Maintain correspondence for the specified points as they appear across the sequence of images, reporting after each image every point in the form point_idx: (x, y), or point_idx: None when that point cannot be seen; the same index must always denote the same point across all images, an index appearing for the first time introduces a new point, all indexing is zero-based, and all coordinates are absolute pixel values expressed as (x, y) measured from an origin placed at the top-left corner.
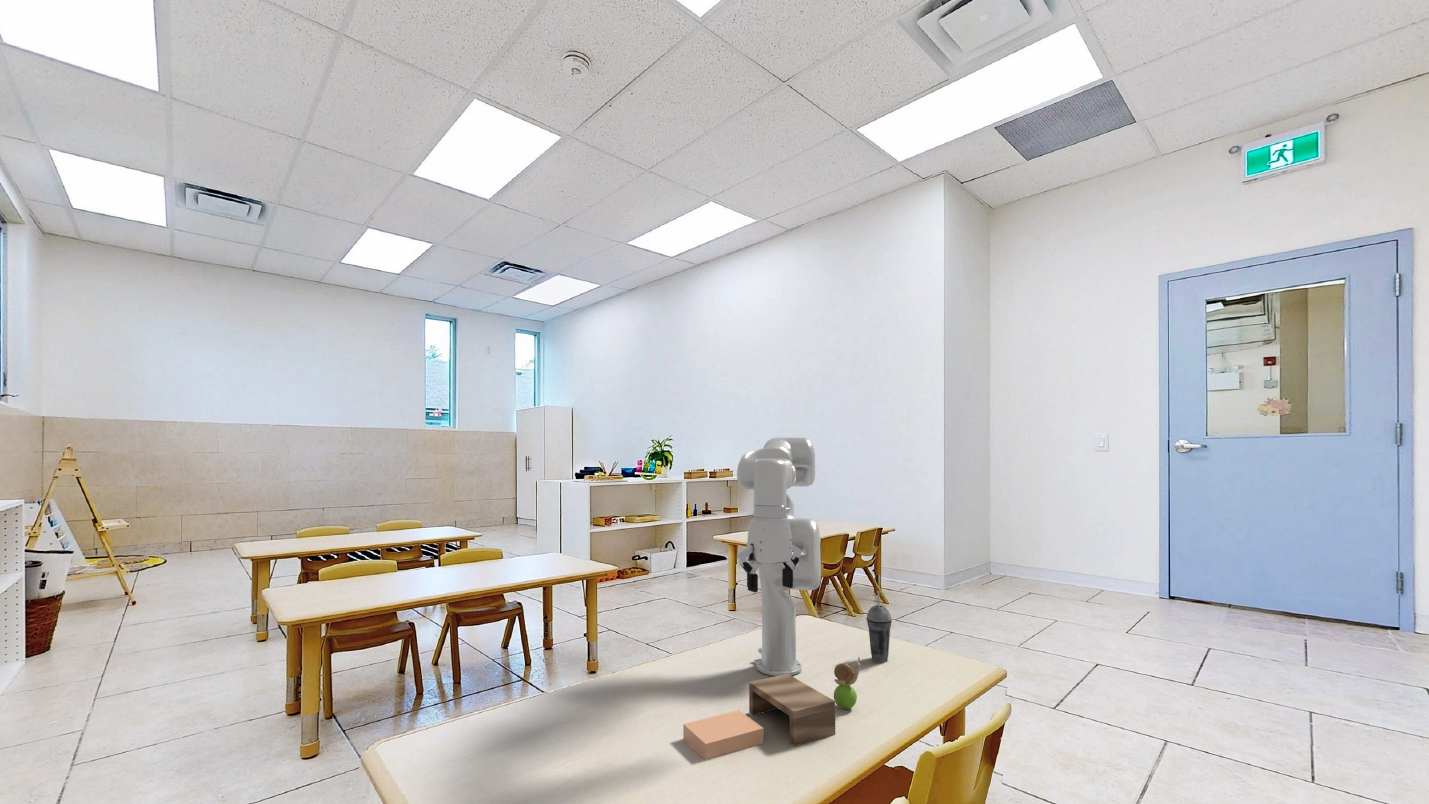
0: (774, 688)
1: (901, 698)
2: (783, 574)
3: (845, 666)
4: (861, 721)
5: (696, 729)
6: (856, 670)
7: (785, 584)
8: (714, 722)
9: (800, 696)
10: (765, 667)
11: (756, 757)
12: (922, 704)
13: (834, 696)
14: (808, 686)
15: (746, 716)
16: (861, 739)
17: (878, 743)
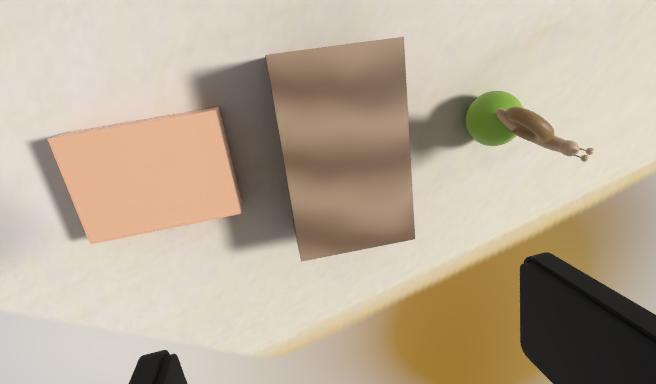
0: (317, 126)
1: (609, 114)
2: (605, 340)
3: (540, 137)
4: (468, 180)
5: (78, 176)
6: (554, 150)
7: (532, 308)
8: (133, 155)
9: (356, 194)
10: None
11: (208, 248)
12: (618, 153)
13: (471, 114)
14: (407, 144)
15: (222, 149)
16: (422, 241)
17: (439, 260)
